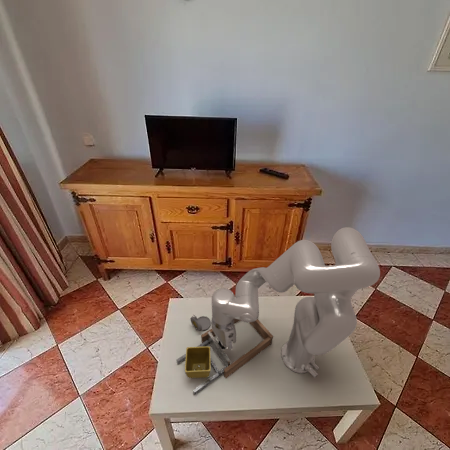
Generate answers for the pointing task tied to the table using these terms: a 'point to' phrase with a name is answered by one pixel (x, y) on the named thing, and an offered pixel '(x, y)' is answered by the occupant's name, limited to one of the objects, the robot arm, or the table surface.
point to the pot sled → (220, 354)
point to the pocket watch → (200, 323)
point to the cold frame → (250, 354)
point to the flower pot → (198, 362)
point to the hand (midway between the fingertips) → (222, 346)
